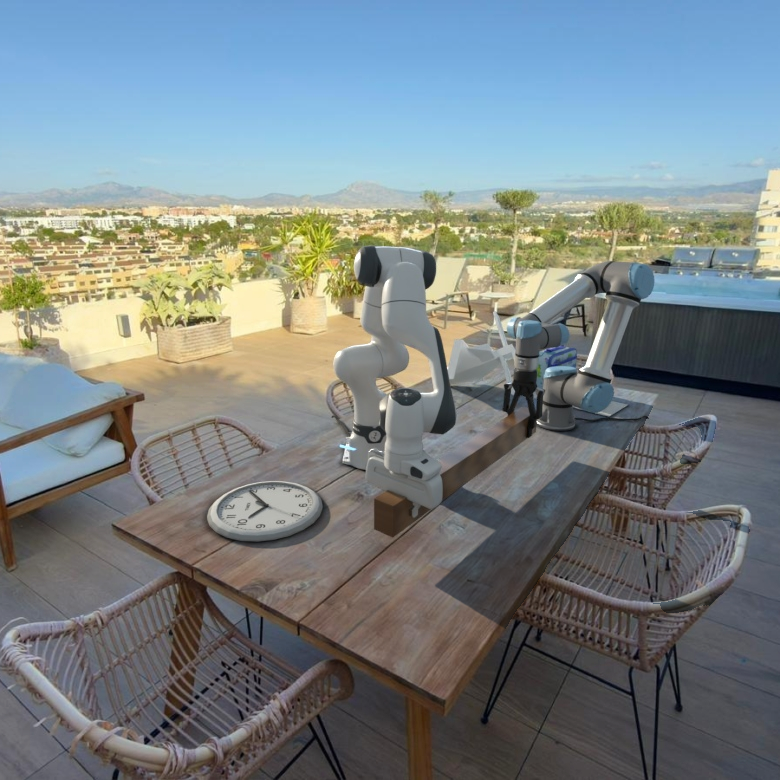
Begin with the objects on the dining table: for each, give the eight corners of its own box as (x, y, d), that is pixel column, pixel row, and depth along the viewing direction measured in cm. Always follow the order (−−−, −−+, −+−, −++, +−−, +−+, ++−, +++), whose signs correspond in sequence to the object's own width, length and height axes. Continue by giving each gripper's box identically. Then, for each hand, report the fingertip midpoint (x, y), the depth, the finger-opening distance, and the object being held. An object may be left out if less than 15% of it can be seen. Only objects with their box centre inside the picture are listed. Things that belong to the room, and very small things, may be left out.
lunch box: (548, 399, 235) (554, 353, 228) (527, 393, 242) (532, 349, 236) (576, 387, 252) (581, 345, 246) (555, 383, 259) (560, 341, 253)
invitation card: (608, 416, 214) (573, 407, 224) (608, 416, 214) (573, 408, 224) (628, 404, 229) (594, 396, 238) (628, 405, 229) (594, 397, 238)
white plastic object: (461, 429, 252) (437, 405, 227) (444, 352, 274) (420, 323, 250) (535, 404, 240) (518, 377, 215) (510, 326, 262) (492, 293, 237)
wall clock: (320, 533, 126) (192, 537, 124) (320, 539, 127) (193, 543, 124) (324, 476, 155) (220, 479, 152) (324, 481, 155) (221, 484, 153)
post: (520, 428, 185) (522, 406, 182) (535, 431, 181) (538, 409, 179) (373, 529, 122) (373, 498, 120) (392, 537, 119) (393, 506, 117)
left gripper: (360, 450, 124) (359, 501, 129) (432, 476, 112) (429, 532, 117) (376, 441, 129) (375, 491, 133) (447, 466, 117) (444, 519, 122)
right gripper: (494, 366, 173) (490, 431, 180) (549, 376, 162) (542, 444, 169) (504, 361, 179) (499, 425, 186) (558, 370, 168) (551, 437, 175)
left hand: (401, 510), depth 125 cm, fingers closed on post, 5 cm apart
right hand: (520, 434), depth 177 cm, fingers closed on post, 6 cm apart
